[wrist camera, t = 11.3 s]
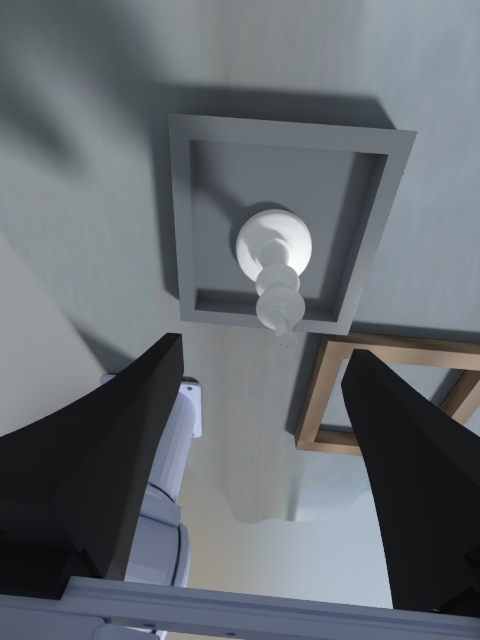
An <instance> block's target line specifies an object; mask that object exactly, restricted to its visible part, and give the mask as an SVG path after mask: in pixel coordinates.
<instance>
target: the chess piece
mask: <svg viewBox="0 0 480 640" xmlns="http://www.w3.org/2000/svg"><path fill="white" fill-rule="evenodd" d="M311 251H312V242H311V236H310V233H309V230H308V228H307V226H306V225H305V223H304V222H303V221H302V220H301V219H300V218H299V217H298V216H296V215H295V214H293V213H291V212H288V211H285V210H280V209H270V210H265V211H262V212H260V213H257V214H256V215H254V216H252V217H251V218H250V219H249V220H248V221H247V222H246V223H245V224H244V225H243V227H242V228H241V230H240V232H239V234H238V237H237V241H236V255H237V260H238V263H239V265H240V267H241V269H242V271H243V272H244V273H245V274H246V275H247V276H248V277H249V278H250V279H251V280H253V281H255V282H256V283H255V286H256V291H257V293H258V295H259V296H260V297H259V299H258V301H257V305H256V313H257V316H258V318H259V320H260V321H261V323H262V324H264V325H265V326H267V327H268V328H271V329H275V332H276V338H277V340H278V341H279V343H280V345H281V346H282V345H285V344H286V346H287V347H289V346H292V345H294V344H297V343H298V342H297V336H296V335H295V333H294V331H293V329H292V328H291V327H293V326H295V325H296V324H297V323H299V322H300V320H301V319H302V317H303V315H304V313H305V302H304V300H303V298H302V296H301V295H300V294H299V293H298V290H299V286H300V280H299V275H300V274H301V273H302V272H303V271H304V269H305V268H306V266H307V264H308V262H309V260H310V257H311Z"/></svg>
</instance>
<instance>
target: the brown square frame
mask: <svg viewBox="0 0 480 640" xmlns="http://www.w3.org/2000/svg"><path fill="white" fill-rule="evenodd" d="M354 348H355V349H366V350H370V351H371V352H372V353H373V354H375V355H376V356H377V357H378V358H379V359H380V360H381V361H383V362H390V363H401V364H413V365H424V366H435V367H446V368H457V369H466V370H465V371H464V373H463V374H462V376H461V377H460V379H459V380H458V381H457V383H456V384H455V386H454V387H453V389H452V390H451V392H450V393H449V394H448V396H447V397H446V399H445V400H444V402H443V403H442V405H441V406H440V407H439V409H440V410H441V411H443V412H444V413H445V414H447V415H448V416H450V417H451V418H452V419H454V420H455V421H457V422H458V423H460V424H461V425H463V426H464V424H465V423H466V422H467V421H468V419H469V418H470V417H471V416H472V414H473V413H474V412H475V411H476V410H477V408H478V407H479V406H480V344H479V343H468V342H456V341H445V340H434V339H422V338H411V337H400V336H389V335H377V334H366V333H355V332H348V335H336V334H325V333H324V334H323V337H322V341H321V344H320V348H319V351H318V355H317V358H316V362H315V365H314V369H313V373H312V376H311V380H310V383H309V387H308V390H307V394H306V397H305V401H304V404H303V408H302V411H301V415H300V418H299V422H298V425H297V429H296V433H295V436H294V437H295V446H296V450H306V451H316V452H327V453H337V454H347V455H357V456H362V453H361V450H360V447H359V445H358V442H357V439H356V436H355V433H347V432H336V431H326V430H318V428H319V425H320V423H321V420H322V417H323V414H324V411H325V408H326V406H327V403H328V400H329V397H330V394H331V391H332V389H333V386H334V383H335V380H336V377H337V374H338V372H339V369H340V366H341V363H342V360H343V358H346V359H350V357H351V355H352V352H353V349H354Z"/></svg>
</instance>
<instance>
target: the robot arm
mask: <svg viewBox="0 0 480 640" xmlns="http://www.w3.org/2000/svg"><path fill="white" fill-rule="evenodd" d="M183 373H184V361H183V347H182V334H177V333H166V334H165V335H164V336H163V337H162V338H160V339H159V340H158V341H157V342H156V343H155V344H154V345H153V346H151V347H150V348H149V349H148V350H147V351H146V352H145V353H143V354H142V355H141V356H140V357H139V358H138V359H136V360H135V361H134V362H133V363H132V364H130V365H129V366H128V367H126V368H125V369H124V370H122V371H121V372H120V373H119V374H117V375H109V374H104V375H102V377H101V379H100V380H101V384H102V385H101V386H100V387H98V388H97V389H95V390H94V391H92V392H90V393H89V394H87V395H85V396H84V397H82V398H80V399H78V400H76V401H75V402H73V403H71V404H69V405H67V406H66V407H64V408H62V409H60V410H58V411H57V412H54V413H52V414H51V415H48V416H46V417H44V418H43V419H40V420H38V421H36V422H34V423H32V424H30V425H27V426H25V427H23V428H21V429H18V430H16V431H14V432H12V433H9V434H6V435H4V436H2V437H0V640H164V639H165V637H166V634H167V632H168V631H169V632H178V633H188V634H197V635H207V636H216V637H225V638H235V639H244V640H480V437H479V436H478V435H476V434H475V433H473V432H471V431H470V430H468V429H467V428H465V427H464V426H463V425H461V424H460V423H458V422H457V421H455V420H454V419H452V418H451V417H450V416H448V415H447V414H445V413H444V412H443V411H441V410H440V409H439V408H437V407H436V406H435V405H433V404H432V403H431V402H430V401H428V400H427V399H426V398H425V397H423V396H422V395H421V394H420V393H418V392H417V391H416V390H415V389H413V388H412V387H411V386H410V385H409V384H408V383H406V382H405V381H404V380H403V379H402V378H401V377H400V376H398V375H397V374H396V373H395V372H394V371H393V370H392V369H390V368H389V367H388V366H387V365H386V364H385V363H384V362H383V361H381V360H380V359H379V358H378V357H377V356H376V355H375V354H373V353H372V352H371V351H370V350H366V349H355V348H354V349H353V352H352V355H351V357H350V360H349V363H348V366H347V368H346V371H345V374H344V377H343V379H342V382H341V387H342V393H343V398H344V403H345V407H346V410H347V413H348V416H349V419H350V422H351V425H352V427H353V430H354V433H355V436H356V439H357V442H358V445H359V447H360V450H361V453H362V456H363V459H364V462H365V466H366V469H367V473H368V477H369V481H370V485H371V489H372V494H373V498H374V503H375V507H376V512H377V517H378V521H379V526H380V531H381V537H382V542H383V547H384V552H385V558H386V564H387V571H388V577H389V583H390V589H391V596H392V603H393V609H387V608H377V607H368V606H367V607H366V606H358V605H348V604H338V603H328V602H318V601H309V600H299V599H290V598H280V597H271V596H261V595H251V594H241V593H232V592H222V591H213V590H203V589H193V588H186V584H187V580H188V574H189V568H190V559H191V545H190V540H189V535H188V530H187V528H186V526H185V525H184V524H183V523H180V518H181V513H182V509H183V508H182V507H181V506H179V505H176V501H177V497H178V493H179V488H180V484H181V480H182V475H183V472H184V467H185V463H186V459H187V455H188V451H189V446H190V442H191V438H192V437H200V436H201V434H202V419H201V386H200V384H198V383H194V382H184V381H182V377H183Z"/></svg>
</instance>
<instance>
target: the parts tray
mask: <svg viewBox="0 0 480 640" xmlns="http://www.w3.org/2000/svg"><path fill="white" fill-rule="evenodd" d="M167 115H168V131H169V146H170V161H171V177H172V192H173V208H174V223H175V238H176V254H177V269H178V284H179V300H180V315H181V321H190V322H202V323H213V324H224V325H235V326H246V327H258V328H268V327H267V326H265V325H264V324H262V323H261V321H260V320H259V318H258V316H257V313H256V305H257V301H258V299H259V297H260V296H259V295H258V293H257V291H256V286H255V283H256V282H255V281H253V280H251V279H250V278H249V277H248V276H247V275H246V274H245V273H244V272H243V271H242V269H241V267H240V265H239V263H238V260H237V255H236V241H237V237H238V234H239V232H240V230H241V228H242V227H243V225H244V224H245V223H246V222H247V221H248V220H249V219H250V218H251V217H252V216H254V215H256V214H257V213H260V212H262V211H265V210H270V209H280V210H285V211H288V212H291V213H293V214H295V215H296V216H298V217H299V218H300V219H301V220H302V221H303V222H304V223H305V225H306V226H307V228H308V230H309V233H310V236H311V242H312V251H311V257H310V260H309V262H308V264H307V266H306V268H305V269H304V271H303V272H302V273H301V274H300V275H299V280H300V286H299V290H298V293H299V294H300V295H301V296H302V298H303V300H304V302H305V313H304V315H303V317H302V319H301V320H300V322H299V323H297V324H296V325H295V326H293V327H291V328H292V329H293V331H303V332H314V333H325V334H336V335H348V332H349V329H350V326H351V324H352V321H353V318H354V315H355V312H356V309H357V306H358V303H359V300H360V297H361V294H362V292H363V289H364V286H365V283H366V280H367V277H368V274H369V271H370V268H371V265H372V262H373V259H374V257H375V254H376V251H377V248H378V245H379V242H380V239H381V236H382V233H383V230H384V227H385V225H386V222H387V219H388V216H389V213H390V210H391V207H392V204H393V201H394V198H395V195H396V193H397V190H398V187H399V184H400V181H401V178H402V175H403V172H404V169H405V166H406V163H407V160H408V158H409V155H410V152H411V149H412V146H413V143H414V140H415V137H416V134H417V131H406V130H392V129H379V128H365V127H352V126H338V125H324V124H311V123H297V122H283V121H270V120H256V119H243V118H229V117H215V116H202V115H188V114H175V113H167ZM269 329H271V328H269Z"/></svg>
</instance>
